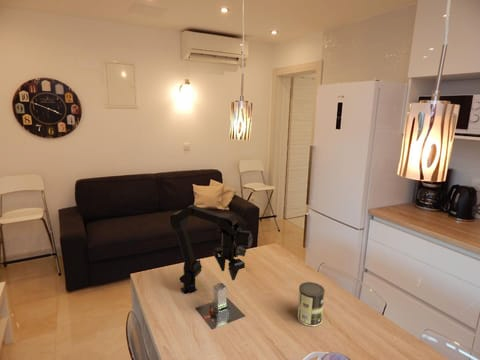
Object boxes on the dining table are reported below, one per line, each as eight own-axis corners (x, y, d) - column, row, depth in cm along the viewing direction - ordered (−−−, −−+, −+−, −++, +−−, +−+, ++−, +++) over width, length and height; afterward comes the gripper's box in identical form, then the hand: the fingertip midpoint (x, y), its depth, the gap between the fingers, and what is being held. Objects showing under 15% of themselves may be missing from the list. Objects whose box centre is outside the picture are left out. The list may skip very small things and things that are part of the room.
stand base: (194, 310, 135) (194, 302, 134) (226, 298, 144) (226, 292, 143) (211, 331, 122) (211, 324, 121) (245, 318, 131) (245, 310, 130)
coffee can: (321, 312, 135) (323, 283, 132) (322, 328, 125) (325, 297, 122) (297, 309, 137) (299, 280, 134) (296, 324, 127) (298, 293, 124)
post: (213, 304, 133) (213, 285, 131) (221, 301, 135) (221, 282, 133) (217, 309, 129) (218, 290, 127) (226, 306, 131) (226, 287, 129)
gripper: (255, 247, 133) (254, 280, 137) (233, 232, 149) (232, 262, 152) (233, 252, 127) (232, 287, 131) (212, 237, 143) (212, 268, 146)
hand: (228, 275), depth 140 cm, fingers open, 9 cm apart
